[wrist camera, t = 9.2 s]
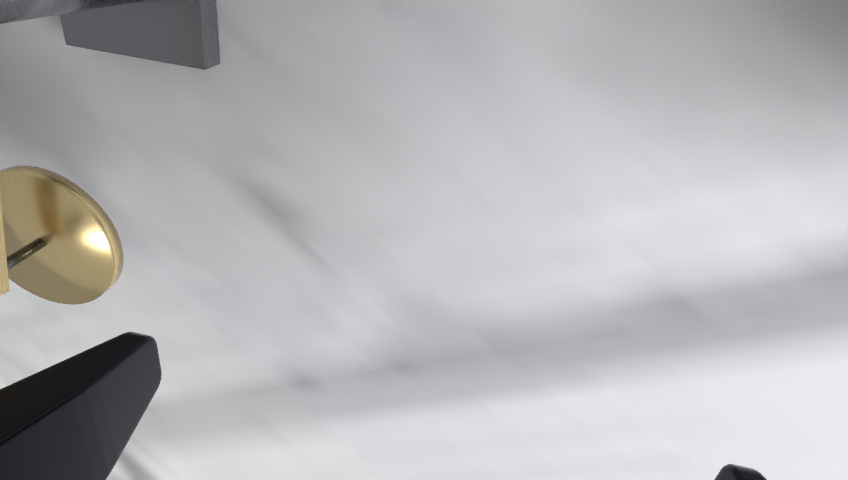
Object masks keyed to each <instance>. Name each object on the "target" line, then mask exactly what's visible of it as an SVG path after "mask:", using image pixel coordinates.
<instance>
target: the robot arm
mask: <svg viewBox="0 0 848 480" xmlns="http://www.w3.org/2000/svg"><path fill="white" fill-rule="evenodd" d="M160 381H161V367H160V361H159V355H158V349H157V343H156V341H155V339H154V338H153V337H151V336H148V335H143V334H139V333H134V332H127V333H124V334H121V335H119V336H117V337H115V338H113V339H110V340H108V341H106V342H104V343H102V344H99V345H97V346H95V347H93V348H91V349H88V350H86V351H84V352H82V353H79V354H77V355H75V356H73V357H71V358H68V359H66V360H64V361H62V362H60V363H57V364H55V365H53V366H51V367H49V368H46V369H44V370H42V371H40V372H38V373H35V374H33V375H31V376H29V377H27V378H24V379H22V380H20V381H18V382H16V383H13V384H11V385H9V386H7V387H5V388H2V389H0V480H106V478H107V477H108V475H109V474H110V472H111V470H112V469H113V467H114V465H115V464H116V462H117V460H118V459H119V457H120V455H121V453H122V452H123V450H124V448H125V446H126V444H127V443H128V441H129V439H130V437H131V435H132V434H133V432H134V430H135V428H136V426H137V425H138V423H139V421H140V419H141V417H142V416H143V414H144V412H145V410H146V409H147V407H148V405H149V403H150V401H151V400H152V398H153V396H154V394H155V392H156V391H157V389H158V387H159V384H160ZM715 480H767V479H766V478H765V477H764V476H763V475H762V474H760V473H759V472H758V471H756V470H754V469H751V468H746V467H742V466H737V465H733V464H728V465H726V466H724V467H723V468H722V469H721V471H720V472H719V474H718V475H717V477H716V478H715Z"/></svg>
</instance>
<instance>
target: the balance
mask: <svg viewBox="0 0 848 480" xmlns="http://www.w3.org/2000/svg"><path fill="white" fill-rule="evenodd" d="M59 14H60V17H61V21H62V26H63V31H64V36H65V41H66V45H70V46H76V47H82V48H87V49H93V50H98V51H104V52H109V53H115V54H121V55H126V56H132V57H137V58H143V59H148V60H154V61H160V62H165V63H171V64H176V65H182V66H187V67H193V68H199V69H204V70H205V69H208V68H210V67H213V66H215V65H218V64H220V59H219V43H218V28H217V12H216V0H0V24H2V23H8V22H15V21H21V20H27V19H34V18H40V17H47V16H53V15H59ZM122 267H123V250H122V245H121V241H120V239H119V236H118V233H117V231H116V229H115V227H114V225H113V223H112V222H111V220H110V219H109V217H108V216H107V214H106V213H105V212H104V210H103V209H102V208H101V207H100V206H99V204H98V203H97V202H96V201H95V200H94V199H93V198H92V197H91V196H90V195H88V194H87V193H86V192H85V191H84V190H82V189H81V188H80V187H78V186H77V185H76V184H74V183H73V182H71V181H69V180H68V179H66V178H64V177H62V176H60V175H58V174H56V173H54V172H51V171H48V170H46V169H42V168H38V167H32V166H13V167H9V168H6V169H3V170H1V171H0V295H2V294H4V293H6V292H9V291H10V290H9V280H8V278H9V279H11V280H12V281H13V282H15V283H16V284H17V285H19V286H20V287H22V288H24V289H25V290H27V291H29V292H31V293H33V294H35V295H37V296H39V297H41V298H44V299H47V300H50V301H53V302H57V303H63V304H82V303H87V302H90V301H92V300H95V299H96V298H98V297H99V296H101V295H102V294H103V293H104V292H105V291H107V290H108V289H109V288H110V287H111V286H112V285H113V284H114V283H116V281H117V280H118V278H119V276H120V274H121V271H122Z"/></svg>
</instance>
